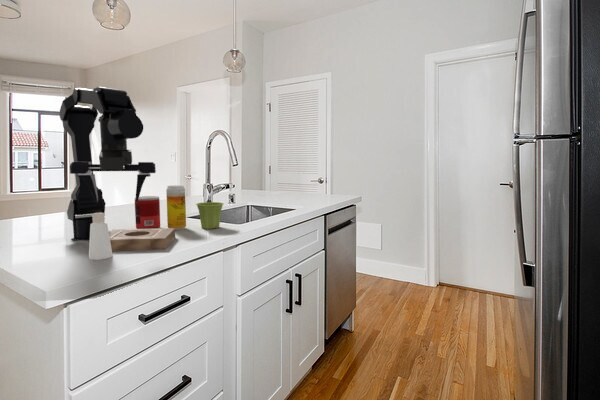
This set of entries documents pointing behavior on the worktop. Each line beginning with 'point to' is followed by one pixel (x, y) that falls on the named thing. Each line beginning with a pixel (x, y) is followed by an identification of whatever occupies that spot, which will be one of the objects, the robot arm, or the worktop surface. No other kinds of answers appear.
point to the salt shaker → (99, 238)
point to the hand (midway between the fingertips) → (117, 201)
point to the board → (141, 238)
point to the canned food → (147, 212)
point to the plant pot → (210, 214)
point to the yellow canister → (176, 207)
